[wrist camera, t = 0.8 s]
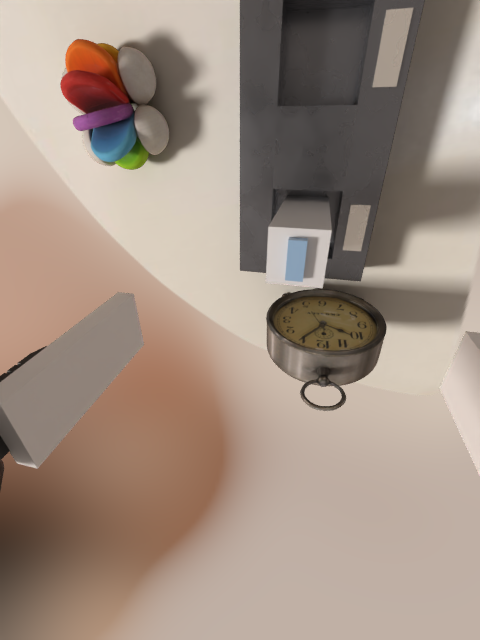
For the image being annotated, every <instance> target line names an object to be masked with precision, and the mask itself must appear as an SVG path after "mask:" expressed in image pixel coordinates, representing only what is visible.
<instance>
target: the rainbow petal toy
mask: <svg viewBox="0 0 480 640" xmlns="http://www.w3.org/2000/svg"><path fill="white" fill-rule="evenodd" d="M61 90H62V93H63V95H64V97H65V98H66V99H67V100H68V102H69V103H70V104H71V106H72V107H73V108H74V109H76V110H77V111H78V112H80V113H82V114H83V115H81V116H77V117H75V118H74V119H73V124H74V126H75V128H76V129H77V130H79V131H83V133H82V141H83V145H84V148H85V150H86V152H87V153H88V155H89V156H90V157H91V158H92V159H93V160H94V161H96V162H97V163H99V164H102V165H105V166H113V165H115V164H117V165H119V166H121V167H122V168H125V169H130V170H133V169H138V168H140V167H141V166H143V165H144V163H145V162H146V160H147V158H148V156H149V153H150V154H152V155H157V154H159V153H161V152H162V151H163V150H164V149H165V148H166V146H167V144H168V141H169V128H168V125H167V122H166V120H165V118H164V117H163V115H162V114H161V113H160V112H159V111H158V110H157V109H155V108H153V107H151V106H148V105H146V104H147V103H148V102H149V101H150V100H151V99H152V97H153V96H154V93H155V90H156V76H155V72H154V69H153V67H152V65H151V63H150V61H149V60H148V58H147V57H146V56H145V55H144V54H143V53H142V52H140V51H139V50H137V49H135V48H132V47H122V48H121V49H120V51H118V50H117V49H116V48H114V47H113V46H111V45H108V44H105V43H99V44H96V43H94V42H91V41H88V40H83V39H77V40H75V41H74V42H73V43H72V44H71V45H70V46H69V48H68V50H67V52H66V68H65V70H64V72H63V74H62V80H61ZM133 102H135V103H136V104H138V107H137V108H136V110H135V111H134V109H133V107H132V105H131V104H130V103H133Z"/></svg>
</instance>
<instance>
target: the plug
mask: <svg viewBox="0 0 480 640" xmlns="http://www.w3.org/2000/svg"><path fill="white" fill-rule="evenodd" d="M331 232H332V227H331V216H330V206H329V197H305V196H286V198H285V200H284V201H283V203H282V205H281V206H280V208H279V210H278V211H277V213H276V215H275V216H274V218H273V220H272V221H271V223H270V225H269V226H268V244H267V265H266V283H272V284H282V285H293V286H303V287H313V288H323V283H324V277H325V270H326V264H327V258H328V251H329V245H330V239H331Z"/></svg>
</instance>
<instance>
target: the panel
mask: <svg viewBox="0 0 480 640" xmlns="http://www.w3.org/2000/svg"><path fill="white" fill-rule="evenodd" d="M424 1H425V0H240V271H251V272H262V273H266V265H267V244H268V226H269V225H270V223H271V221H272V220H273V218H274V216H275V215H276V213H277V211H278V210H279V208H280V206H281V205H282V203H283V201H284V200H285V198H286V196H305V197H329V206H330V216H331V227H332V232H331V239H330V245H329V251H328V258H327V264H326V270H325V277H324V278H329V279H340V280H351V281H361V278H362V273H363V269H364V265H365V260H366V256H367V251H368V247H369V243H370V238H371V234H372V229H373V225H374V221H375V216H376V212H377V207H378V203H379V199H380V194H381V190H382V185H383V181H384V177H385V172H386V168H387V163H388V159H389V155H390V150H391V146H392V141H393V137H394V133H395V128H396V124H397V119H398V115H399V111H400V106H401V102H402V97H403V93H404V89H405V84H406V80H407V75H408V71H409V67H410V62H411V58H412V53H413V49H414V45H415V40H416V36H417V31H418V27H419V23H420V18H421V14H422V9H423V5H424Z"/></svg>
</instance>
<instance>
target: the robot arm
mask: <svg viewBox="0 0 480 640" xmlns="http://www.w3.org/2000/svg"><path fill="white" fill-rule="evenodd" d="M143 345H144V342H143V337H142V333H141V328H140V323H139V318H138V313H137V308H136V303H135V298H134V294H129V293H121V292H118V293H116V294H115V295H114V296H113V297H111V298H110V299H109V300H107V301H106V302H105V303H103V304H102V305H101V306H99V307H98V308H97V309H96V310H94V311H93V312H92V313H90V314H89V315H88V316H86V317H85V318H84V319H82V320H81V321H80V322H79V323H77V324H76V325H75V326H73V327H72V328H71V329H69V330H68V331H67V332H65V333H64V334H63V335H61V336H60V337H59V338H58V339H56V340H55V341H54V342H52V343H51V344H50V345H49V346H45V347H43V348H41V349H39V350H37V351H35V352H33V353H31V354H29V355H28V356H27V357H25V358H24V359H23V360H21V361H20V362H18V365H14V366H13V367H12V368H10V369H9V370H8V371H7V373H4V374H2V375H1V376H0V490H1V483H2V478H3V472H4V464H3V461H2V460H1V459H2V458H3V457H4V456H5V455H6V454H7V453H8V452H9V451H10V453H11V455H12V456H13V458H14V460H15V461H16V463H18V464H22V465H26V466H30V467H33V468H38V467H39V466H40V465H41V464H42V463H43V462H44V460H45V459H46V458H47V457H48V456H49V455H50V453H51V452H52V451H53V450H54V449H55V448H56V446H57V445H58V444H59V443H60V442H61V441H62V439H63V438H64V437H65V436H66V435H67V434H68V433H69V431H70V430H71V429H72V428H73V426H75V424H76V423H77V422H78V421H79V420H80V419H81V417H82V416H83V415H84V414H85V413H86V412H87V410H88V409H89V408H90V407H91V406H92V405H93V403H94V402H95V401H96V400H97V399H98V398H99V396H100V395H101V394H102V393H103V392H104V391H105V389H106V388H107V387H108V386H109V385H110V383H111V382H112V381H113V380H114V379H115V378H116V377H117V375H118V374H119V373H120V372H121V371H122V370H123V368H124V367H125V366H126V365H127V363H129V361H130V360H131V359H132V358H133V357H134V355H135V354H136V353H137V352H138V351H139V350H140V349H141V347H142V346H143ZM439 389H440V391H441V393H442V395H443V398H444V400H445V402H446V404H447V406H448V408H449V410H450V413H451V415H452V417H453V419H454V421H455V424H456V425H457V428H458V430H459V432H460V434H461V436H462V439H463V441H464V443H465V445H466V447H467V449H468V452H469V454H470V456H471V458H472V460H473V462H474V465H475V467H476V469H477V471H478V473H479V475H480V333H476V332H467V331H466V332H465V334H464V336H463V338H462V340H461V342H460V344H459V347H458V349H457V351H456V353H455V355H454V357H453V359H452V362H451V364H450V366H449V368H448V370H447V372H446V374H445V377H444V379H443V381H442V383H441V385H440V387H439Z"/></svg>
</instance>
